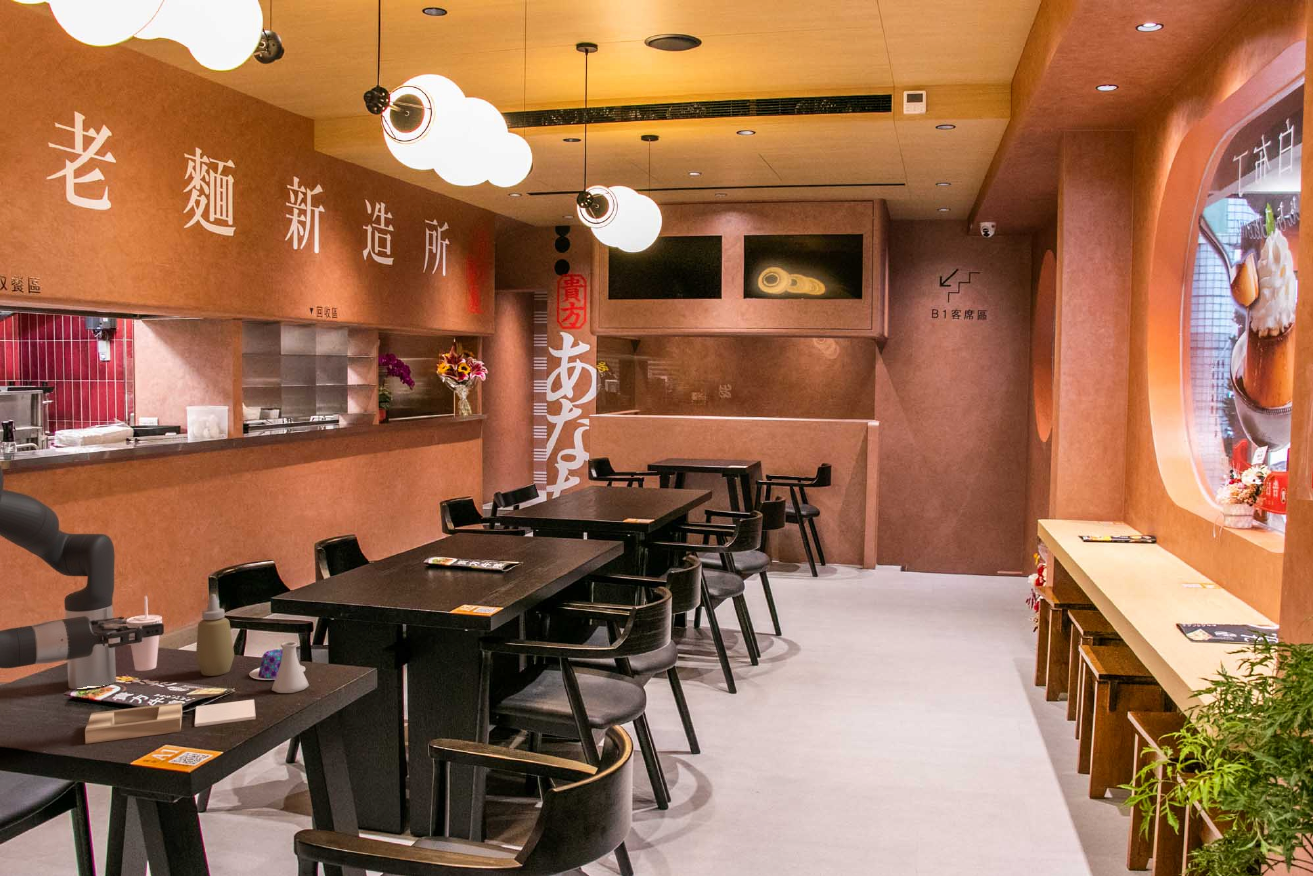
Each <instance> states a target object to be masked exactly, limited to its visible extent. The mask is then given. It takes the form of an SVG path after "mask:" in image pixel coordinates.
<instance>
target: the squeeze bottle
mask: <svg viewBox="0 0 1313 876" xmlns="http://www.w3.org/2000/svg"><path fill="white" fill-rule="evenodd" d="M225 615H226V614H225V609H224V608H220V605H219V602H218V598H217V595H216V594H215V593H213V594H209V599H208V603H207V609H204V610H203V611H202V612H201V616H202V620H200V621H199V622H197V623H198V624H197V634H196V635H197V636H196V648H195V649H196V653H195V661H196V663H197V666H198V667H199V670H200V673H201V675H203V676H207V677H209V676H211V677H213V676H220V675H225V674H227V673H229V672H230V671H231V668H232V664H233V661H234V657H235V651H234V650H235V649H234V645H233V644H234V643H233V637H232V630H231V625H230V624H231V623H230V620H229V619H228V618H226V617H225Z"/></svg>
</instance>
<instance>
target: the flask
mask: <svg viewBox="0 0 1313 876" xmlns="http://www.w3.org/2000/svg"><path fill="white" fill-rule="evenodd" d="M297 646H298V642H296V641H287V642H282V643H281V644H280V647H281V649H282V660H281V664H280V667H279V670H278V673H277V676H276V679H275V680H274V682H273V685H272V688H271V691H273V692H276V693H278V694H279V693H280V694H294V693H297V692H302V691H304V690H305V689H307V688H308V687H309V686H310V684H309V681H308V679H307V678H306V676H305V673H304V672H303V671H302V668H301V666H300V665H301V664H300V661H299V659H298V655H297Z"/></svg>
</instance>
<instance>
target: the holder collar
mask: <svg viewBox="0 0 1313 876" xmlns="http://www.w3.org/2000/svg"><path fill="white" fill-rule="evenodd" d="M182 719H183V701H182V702H173V703H166V704H164V703H163V704H157V705H148V706H139V707H132V708H124V709H115V710H114V709H113V710H108V711H107V710H106V711H99V712H91V714H90V717H89V720H88V722H87V724H86V727H85V729H84V736H85V737H84V738H85V739H84V740H85V744H93V743H94V744H95V743H102V742H108V741H118V740H126V739H134V738H140V737H141V738H142V737H148V736H157V735H163V734H164V735H165V734H173V733H179V732H181V729H182V722H183V721H182Z"/></svg>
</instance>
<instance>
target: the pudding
mask: <svg viewBox="0 0 1313 876" xmlns="http://www.w3.org/2000/svg"><path fill="white" fill-rule="evenodd" d="M261 657H262V658H261V662H260V666H259V667H258V668H255V669H253V670H251V671H250V672H249V673H248V674H249V676H250V677H251V678H253V679H256V680H263V681H266V680H267V681H271V680H273V681H275V679H276V676H277V673H278V670H279V667H280V664H281V660H282V648H280V649H272V650H267V651H266V652H264V653H263V655H262V656H261ZM300 666H301V668H302V671H303V673H304V672H305V671H306V667H305V666H303V665H301V664H300Z"/></svg>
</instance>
